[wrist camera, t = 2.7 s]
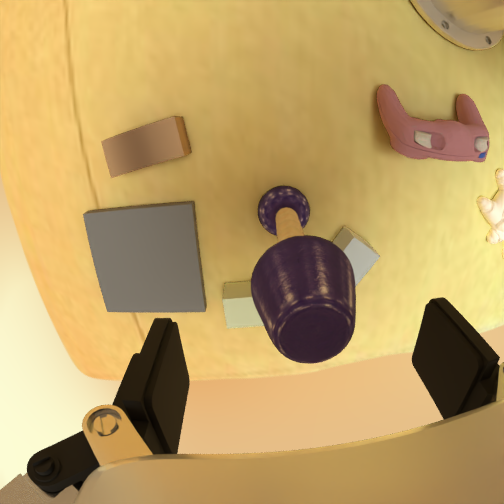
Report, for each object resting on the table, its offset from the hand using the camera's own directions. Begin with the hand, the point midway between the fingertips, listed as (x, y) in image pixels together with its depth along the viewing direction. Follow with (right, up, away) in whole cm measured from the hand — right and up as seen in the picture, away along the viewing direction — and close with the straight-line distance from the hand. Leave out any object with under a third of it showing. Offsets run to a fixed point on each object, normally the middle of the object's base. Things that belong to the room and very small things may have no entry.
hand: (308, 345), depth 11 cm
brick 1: (-10, +12, +13) cm, 20 cm away
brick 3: (+6, +3, +17) cm, 18 cm away
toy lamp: (0, +7, +15) cm, 17 cm away
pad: (-11, +3, +17) cm, 20 cm away
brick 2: (-1, -1, +18) cm, 18 cm away
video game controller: (+13, +15, +12) cm, 23 cm away
